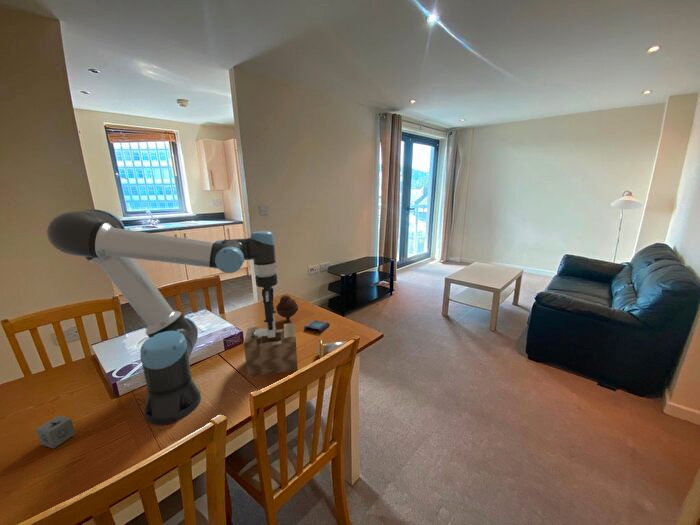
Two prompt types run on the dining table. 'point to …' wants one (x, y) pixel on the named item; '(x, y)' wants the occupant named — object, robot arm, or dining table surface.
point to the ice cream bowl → (287, 307)
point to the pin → (327, 347)
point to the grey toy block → (55, 431)
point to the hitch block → (271, 352)
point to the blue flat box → (317, 325)
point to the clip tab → (259, 332)
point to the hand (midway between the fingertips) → (271, 333)
